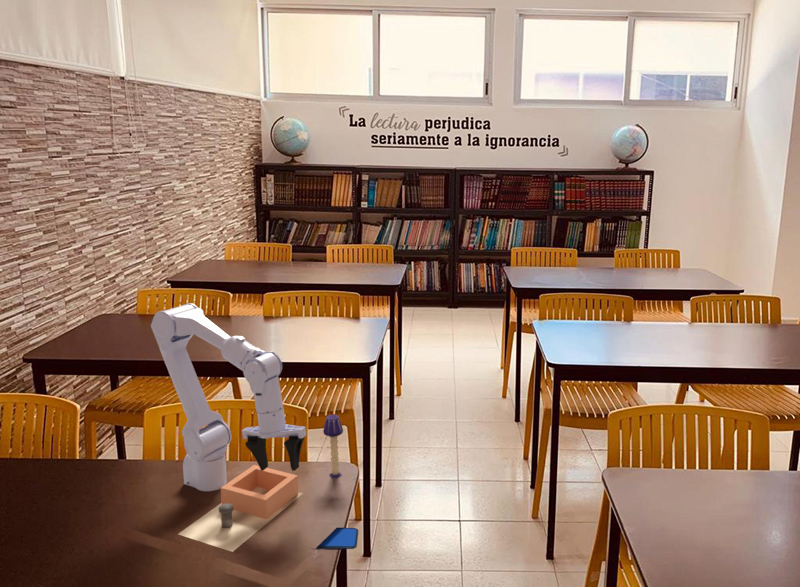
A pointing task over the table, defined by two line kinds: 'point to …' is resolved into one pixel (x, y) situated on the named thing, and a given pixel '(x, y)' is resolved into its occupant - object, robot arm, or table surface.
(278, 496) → the orange square frame
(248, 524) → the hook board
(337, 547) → the smartphone
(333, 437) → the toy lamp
